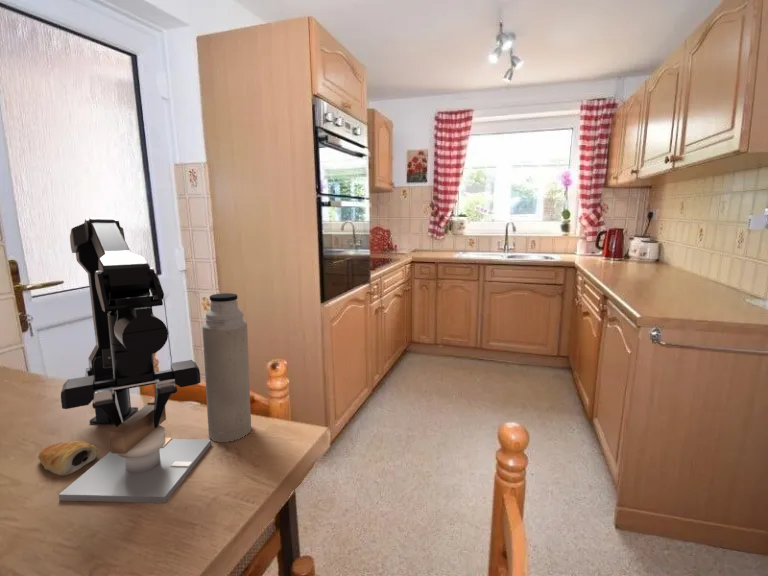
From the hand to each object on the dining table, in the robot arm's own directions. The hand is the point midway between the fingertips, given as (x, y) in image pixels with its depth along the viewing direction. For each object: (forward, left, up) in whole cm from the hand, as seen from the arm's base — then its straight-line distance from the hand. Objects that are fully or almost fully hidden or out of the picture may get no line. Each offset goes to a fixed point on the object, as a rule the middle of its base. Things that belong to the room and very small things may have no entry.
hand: (139, 430), depth 67 cm
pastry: (-2, -14, -8) cm, 16 cm away
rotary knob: (0, 0, -3) cm, 3 cm away
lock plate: (0, 0, -7) cm, 7 cm away
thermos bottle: (-13, +10, -7) cm, 18 cm away
